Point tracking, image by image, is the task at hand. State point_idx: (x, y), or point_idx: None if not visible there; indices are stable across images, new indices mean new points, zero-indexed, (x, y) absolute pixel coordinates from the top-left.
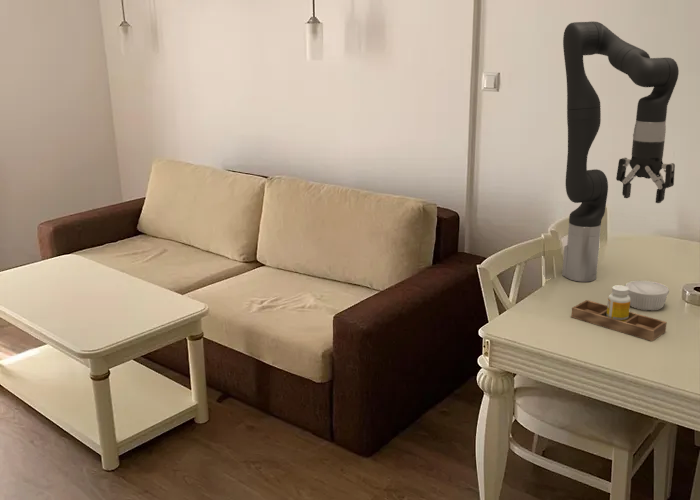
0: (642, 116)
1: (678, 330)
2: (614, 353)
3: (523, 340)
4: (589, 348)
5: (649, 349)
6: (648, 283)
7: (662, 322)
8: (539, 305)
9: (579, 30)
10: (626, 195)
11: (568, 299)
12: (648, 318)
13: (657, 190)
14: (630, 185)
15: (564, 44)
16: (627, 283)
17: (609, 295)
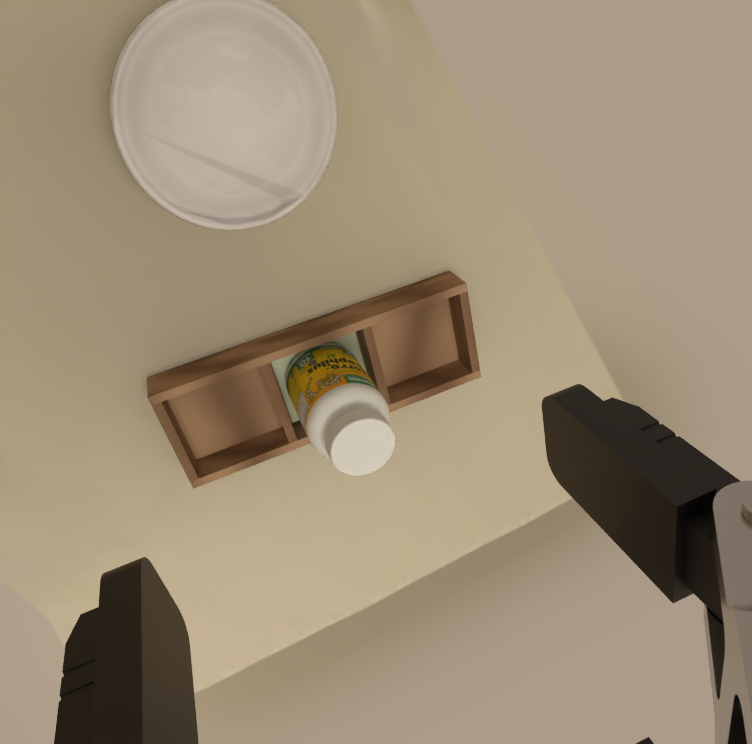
0: None
1: (467, 219)
2: (450, 494)
3: (267, 647)
4: (395, 531)
5: (490, 402)
6: (189, 57)
7: (456, 294)
8: (30, 507)
9: None
10: (188, 659)
11: (10, 374)
12: (407, 312)
13: (669, 584)
14: (153, 730)
15: None
16: (130, 160)
17: (324, 455)
